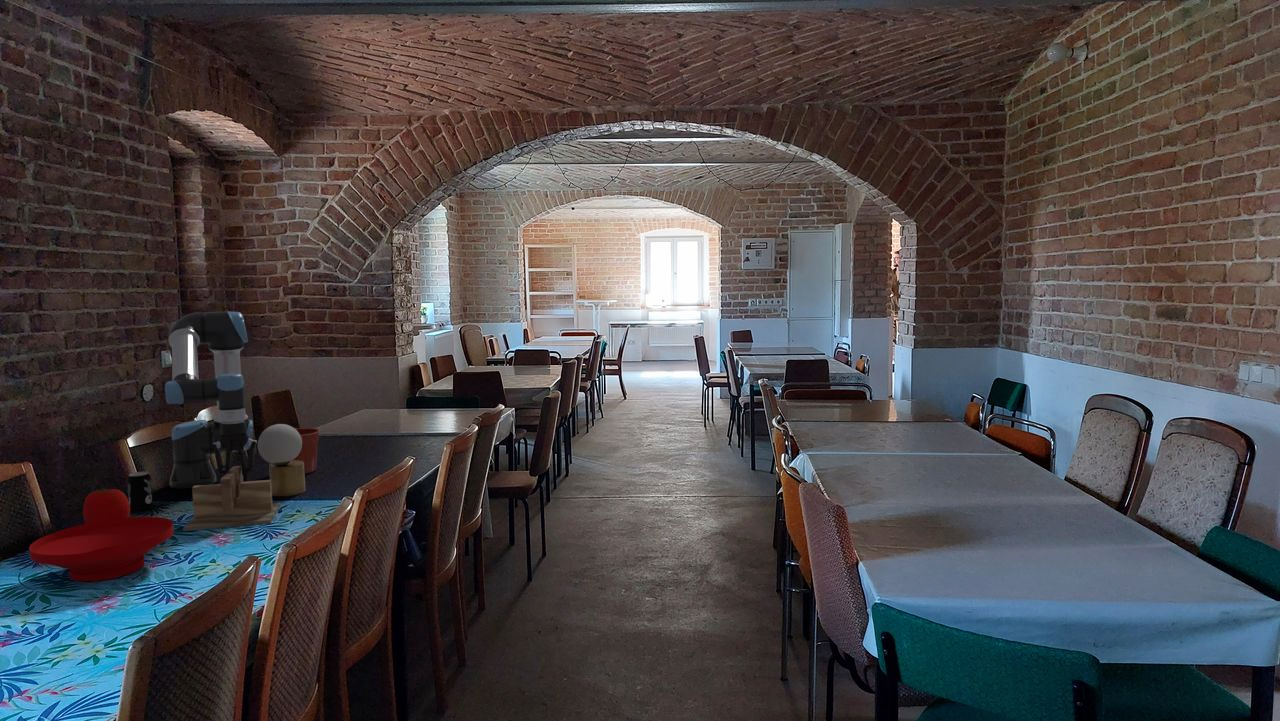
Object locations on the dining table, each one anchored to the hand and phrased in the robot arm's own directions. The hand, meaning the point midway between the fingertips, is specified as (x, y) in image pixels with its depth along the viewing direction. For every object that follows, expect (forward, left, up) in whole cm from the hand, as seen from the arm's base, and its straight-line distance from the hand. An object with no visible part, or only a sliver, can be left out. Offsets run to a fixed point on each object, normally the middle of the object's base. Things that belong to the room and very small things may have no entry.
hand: (237, 493), depth 251 cm
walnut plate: (+7, 0, -2) cm, 7 cm away
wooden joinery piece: (+7, 0, -6) cm, 9 cm away
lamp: (-19, +11, -6) cm, 23 cm away
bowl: (+48, -22, -7) cm, 53 cm away
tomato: (+12, -33, -6) cm, 36 cm away
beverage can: (-15, -32, -6) cm, 36 cm away
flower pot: (-54, +12, -6) cm, 56 cm away
